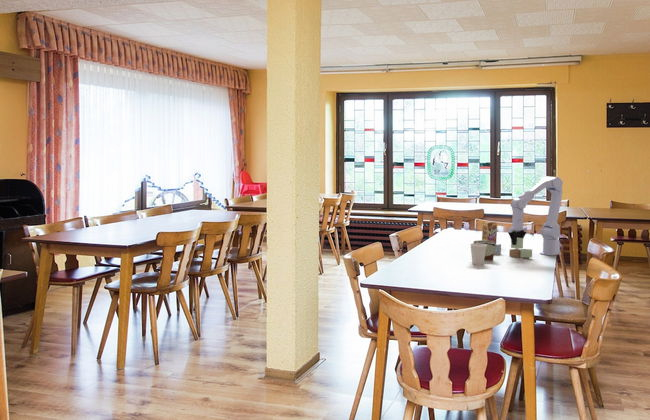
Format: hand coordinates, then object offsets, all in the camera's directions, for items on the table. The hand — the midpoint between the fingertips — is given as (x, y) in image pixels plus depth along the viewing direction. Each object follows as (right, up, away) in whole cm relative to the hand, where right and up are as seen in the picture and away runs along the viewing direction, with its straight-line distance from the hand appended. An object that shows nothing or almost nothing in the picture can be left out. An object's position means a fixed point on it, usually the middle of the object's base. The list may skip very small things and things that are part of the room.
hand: (516, 244), depth 351 cm
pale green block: (+3, -7, -6) cm, 10 cm away
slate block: (-9, -6, +10) cm, 15 cm away
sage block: (0, -2, 0) cm, 2 cm away
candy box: (-6, -4, +36) cm, 36 cm away
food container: (-20, -8, -11) cm, 24 cm away
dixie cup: (-27, -9, -23) cm, 37 cm away
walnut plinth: (0, -7, +1) cm, 7 cm away
